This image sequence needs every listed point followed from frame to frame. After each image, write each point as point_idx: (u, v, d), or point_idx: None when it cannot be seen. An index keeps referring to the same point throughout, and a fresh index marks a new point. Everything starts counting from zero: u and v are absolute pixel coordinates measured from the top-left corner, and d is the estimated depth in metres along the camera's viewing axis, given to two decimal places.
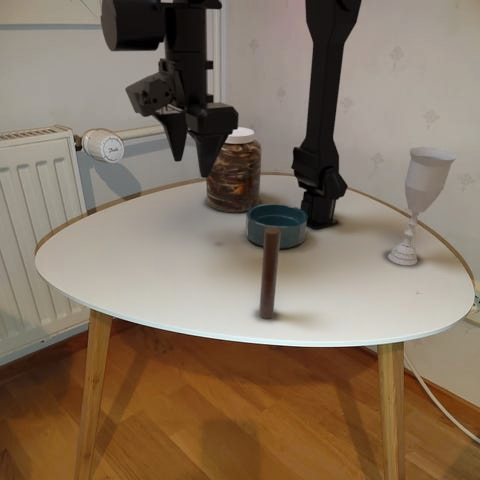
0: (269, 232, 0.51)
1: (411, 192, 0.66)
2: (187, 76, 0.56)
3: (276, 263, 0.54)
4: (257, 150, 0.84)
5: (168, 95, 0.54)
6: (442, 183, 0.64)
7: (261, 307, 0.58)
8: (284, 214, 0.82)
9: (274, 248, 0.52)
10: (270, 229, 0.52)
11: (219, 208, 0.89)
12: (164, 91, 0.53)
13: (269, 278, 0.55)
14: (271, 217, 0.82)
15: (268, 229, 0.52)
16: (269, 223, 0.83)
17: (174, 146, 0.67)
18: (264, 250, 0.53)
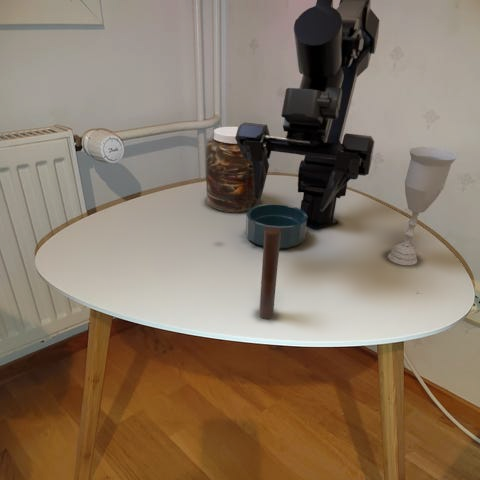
0: (269, 232, 0.51)
1: (411, 192, 0.66)
2: None
3: (276, 263, 0.54)
4: None
5: (337, 112, 0.53)
6: (442, 183, 0.64)
7: (261, 307, 0.58)
8: (284, 214, 0.82)
9: (274, 248, 0.52)
10: (270, 229, 0.52)
11: (219, 208, 0.89)
12: (339, 106, 0.53)
13: (269, 278, 0.55)
14: (271, 217, 0.82)
15: (268, 229, 0.52)
16: (269, 223, 0.83)
17: (261, 182, 0.59)
18: (264, 250, 0.53)
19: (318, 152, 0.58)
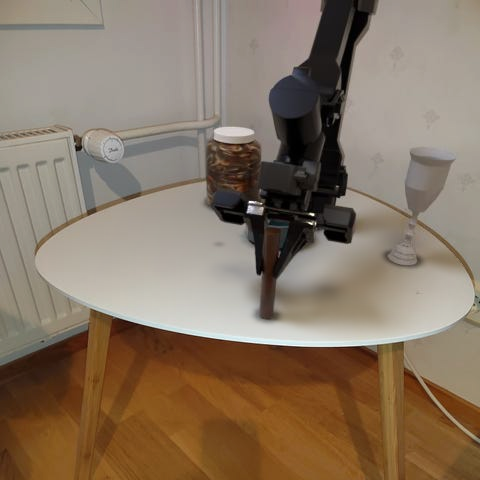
0: (269, 232, 0.51)
1: (411, 192, 0.66)
2: None
3: None
4: (257, 150, 0.84)
5: (316, 185, 0.50)
6: (442, 183, 0.64)
7: (261, 307, 0.58)
8: None
9: (274, 248, 0.52)
10: (270, 229, 0.52)
11: None
12: (318, 178, 0.49)
13: (269, 278, 0.55)
14: None
15: (268, 229, 0.52)
16: (269, 223, 0.83)
17: (262, 256, 0.54)
18: (264, 250, 0.53)
19: (272, 217, 0.55)
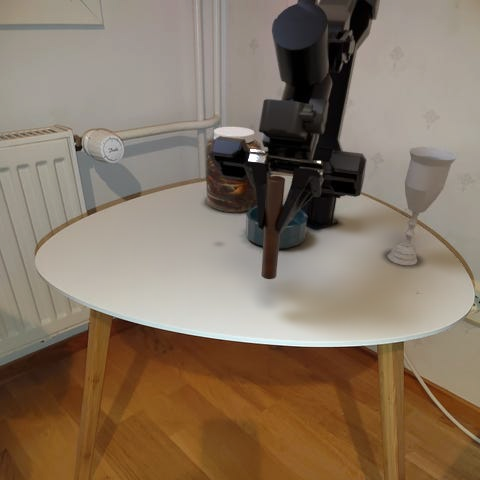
0: (272, 180, 0.48)
1: (411, 192, 0.66)
2: None
3: None
4: None
5: (323, 127, 0.46)
6: (442, 183, 0.64)
7: (263, 266, 0.55)
8: None
9: (278, 198, 0.49)
10: (273, 177, 0.48)
11: (219, 208, 0.89)
12: (325, 119, 0.46)
13: (272, 232, 0.51)
14: None
15: (271, 177, 0.48)
16: None
17: (265, 209, 0.51)
18: (267, 201, 0.49)
19: (275, 167, 0.51)
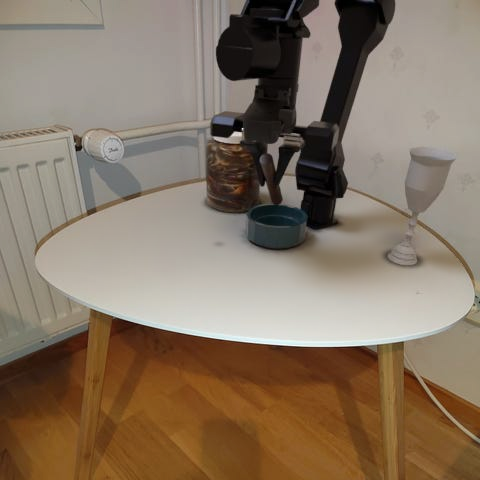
0: (263, 163, 0.62)
1: (411, 192, 0.66)
2: (291, 100, 0.59)
3: None
4: None
5: (294, 120, 0.57)
6: (442, 183, 0.64)
7: (271, 199, 0.73)
8: (284, 214, 0.82)
9: (270, 171, 0.64)
10: (264, 158, 0.63)
11: (219, 208, 0.89)
12: (295, 117, 0.56)
13: (271, 186, 0.68)
14: (271, 217, 0.82)
15: (262, 158, 0.63)
16: (269, 223, 0.83)
17: None
18: (263, 171, 0.65)
19: None
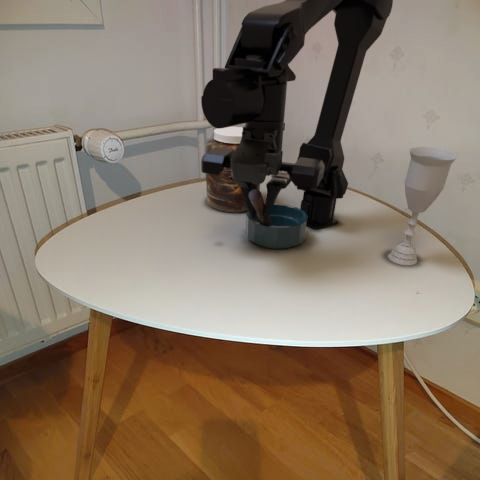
0: (252, 199, 0.65)
1: (411, 192, 0.66)
2: (278, 140, 0.61)
3: None
4: None
5: None
6: (442, 183, 0.64)
7: None
8: (284, 214, 0.82)
9: (259, 205, 0.67)
10: (252, 194, 0.65)
11: (219, 208, 0.89)
12: (280, 159, 0.59)
13: (262, 217, 0.71)
14: (271, 217, 0.82)
15: (251, 194, 0.65)
16: None
17: None
18: None
19: None
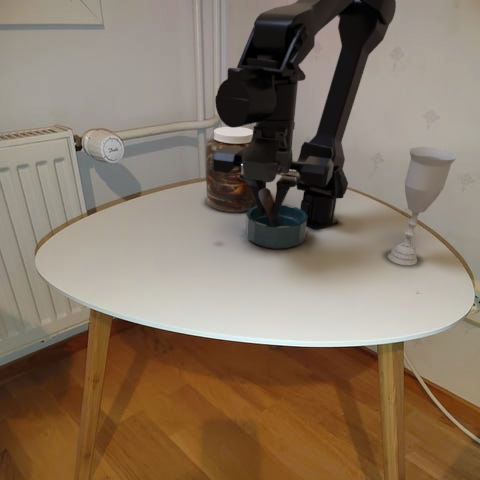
0: (262, 197, 0.66)
1: (411, 192, 0.66)
2: (288, 139, 0.62)
3: (273, 207, 0.70)
4: None
5: (290, 160, 0.60)
6: (442, 183, 0.64)
7: (271, 224, 0.77)
8: (284, 214, 0.82)
9: (268, 204, 0.68)
10: (262, 192, 0.66)
11: (219, 208, 0.89)
12: (291, 157, 0.60)
13: (270, 215, 0.72)
14: None
15: (261, 193, 0.66)
16: (269, 223, 0.83)
17: None
18: (262, 203, 0.69)
19: None
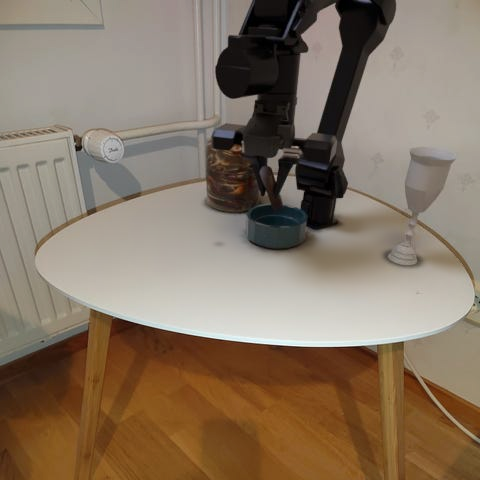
0: (263, 176, 0.64)
1: (411, 192, 0.66)
2: (290, 114, 0.60)
3: None
4: None
5: None
6: (442, 183, 0.64)
7: (272, 206, 0.75)
8: (284, 214, 0.82)
9: (270, 183, 0.66)
10: (264, 170, 0.64)
11: (219, 208, 0.89)
12: (293, 131, 0.58)
13: (272, 195, 0.70)
14: (271, 217, 0.82)
15: (262, 171, 0.64)
16: (269, 223, 0.83)
17: None
18: (263, 183, 0.67)
19: None
